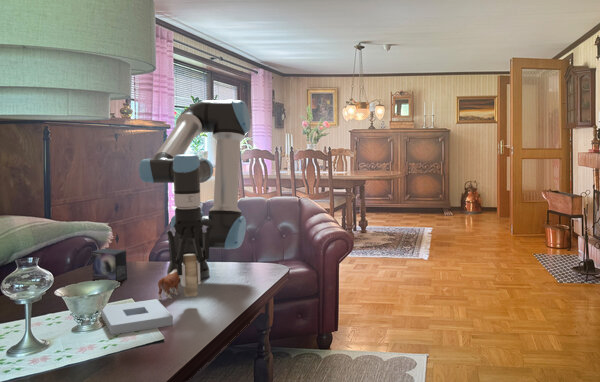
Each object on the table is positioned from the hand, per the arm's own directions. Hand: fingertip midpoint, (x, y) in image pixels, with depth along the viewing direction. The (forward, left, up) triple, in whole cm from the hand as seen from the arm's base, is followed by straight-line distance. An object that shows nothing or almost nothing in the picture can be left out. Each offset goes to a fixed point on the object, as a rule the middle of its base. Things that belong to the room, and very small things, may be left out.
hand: (190, 284), depth 171 cm
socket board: (+6, -17, -7) cm, 19 cm away
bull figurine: (-13, -2, -7) cm, 15 cm away
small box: (-44, -16, -7) cm, 48 cm away
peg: (0, 0, -3) cm, 3 cm away
